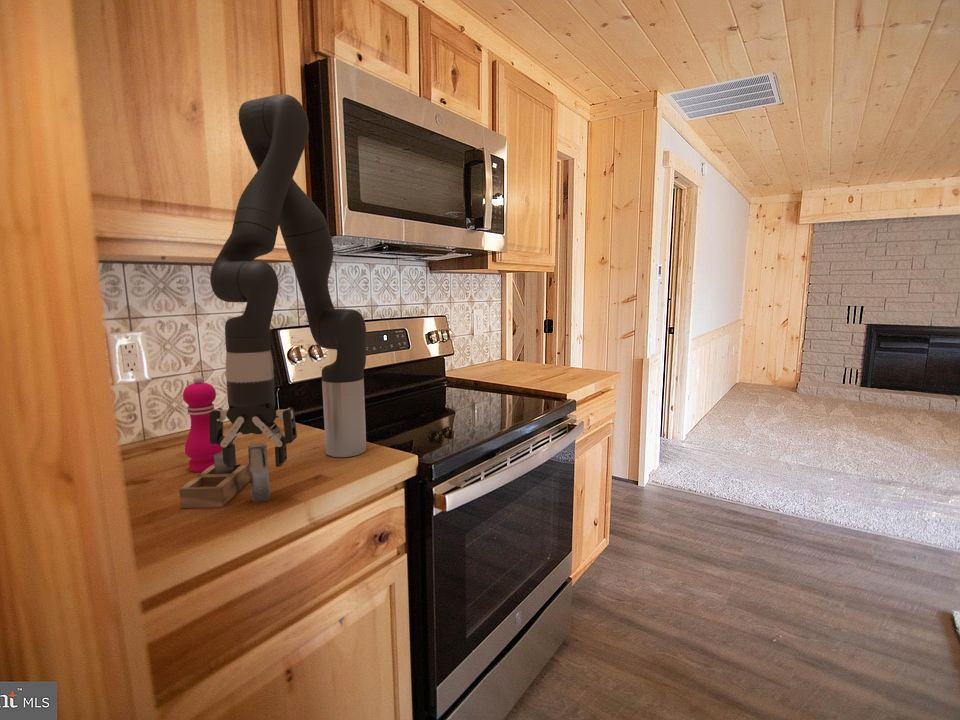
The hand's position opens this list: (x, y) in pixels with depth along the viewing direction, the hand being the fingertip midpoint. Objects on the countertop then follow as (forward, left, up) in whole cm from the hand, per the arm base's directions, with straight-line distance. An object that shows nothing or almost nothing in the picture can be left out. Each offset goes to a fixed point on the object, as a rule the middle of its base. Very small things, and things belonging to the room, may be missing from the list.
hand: (255, 465), depth 86 cm
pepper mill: (-17, -18, -7) cm, 26 cm away
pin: (0, 0, -6) cm, 6 cm away
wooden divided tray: (-3, -9, -6) cm, 11 cm away
